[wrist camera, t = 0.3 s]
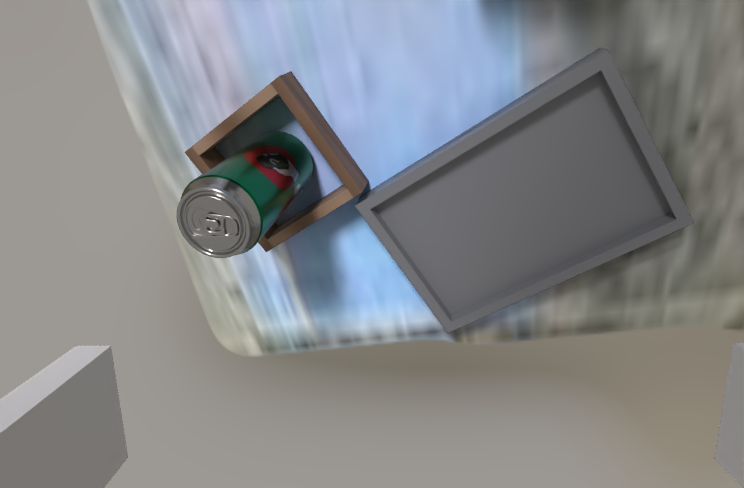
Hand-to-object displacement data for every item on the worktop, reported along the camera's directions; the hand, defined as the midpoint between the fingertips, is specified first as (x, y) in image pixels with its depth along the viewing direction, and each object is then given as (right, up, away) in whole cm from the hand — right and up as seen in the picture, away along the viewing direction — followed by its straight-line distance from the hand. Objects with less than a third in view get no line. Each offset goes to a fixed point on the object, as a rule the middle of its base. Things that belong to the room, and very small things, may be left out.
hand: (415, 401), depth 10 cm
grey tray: (+10, +6, +26) cm, 28 cm away
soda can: (-8, +10, +28) cm, 30 cm away
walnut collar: (-8, +10, +27) cm, 30 cm away
